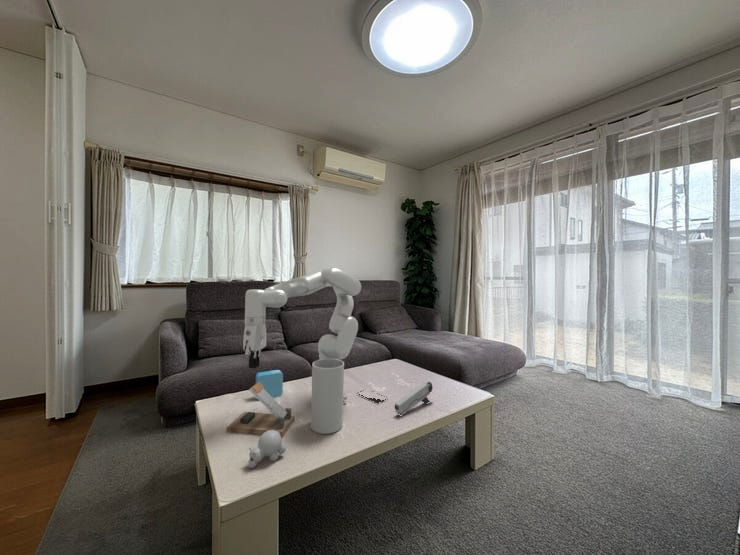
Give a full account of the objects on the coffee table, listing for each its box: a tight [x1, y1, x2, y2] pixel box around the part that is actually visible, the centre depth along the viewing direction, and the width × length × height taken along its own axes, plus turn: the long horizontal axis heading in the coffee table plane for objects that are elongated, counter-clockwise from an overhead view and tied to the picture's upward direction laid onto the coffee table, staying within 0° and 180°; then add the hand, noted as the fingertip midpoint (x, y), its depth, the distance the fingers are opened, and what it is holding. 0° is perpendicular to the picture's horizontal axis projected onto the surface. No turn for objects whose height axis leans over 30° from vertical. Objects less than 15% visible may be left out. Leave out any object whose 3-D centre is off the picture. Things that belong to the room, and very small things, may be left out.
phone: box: [356, 389, 388, 404], centre depth 139 cm, size 8×1×15 cm
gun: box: [394, 381, 433, 416], centre depth 128 cm, size 2×25×10 cm, turn 131°
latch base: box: [225, 407, 296, 438], centre depth 109 cm, size 22×12×6 cm, turn 84°
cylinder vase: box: [310, 359, 345, 435], centre depth 111 cm, size 12×12×25 cm
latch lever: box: [248, 382, 288, 417], centre depth 109 cm, size 17×5×2 cm
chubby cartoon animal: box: [245, 430, 287, 469], centre depth 89 cm, size 7×12×8 cm, turn 135°
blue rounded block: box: [255, 369, 284, 401], centre depth 136 cm, size 12×4×12 cm, turn 122°
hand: (253, 366), depth 110 cm, fingers closed
